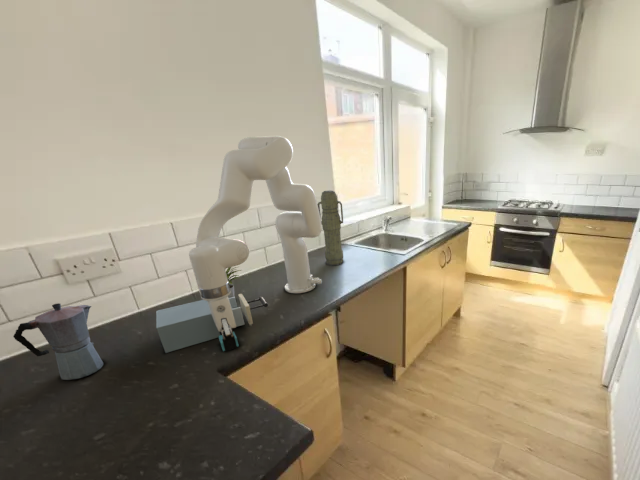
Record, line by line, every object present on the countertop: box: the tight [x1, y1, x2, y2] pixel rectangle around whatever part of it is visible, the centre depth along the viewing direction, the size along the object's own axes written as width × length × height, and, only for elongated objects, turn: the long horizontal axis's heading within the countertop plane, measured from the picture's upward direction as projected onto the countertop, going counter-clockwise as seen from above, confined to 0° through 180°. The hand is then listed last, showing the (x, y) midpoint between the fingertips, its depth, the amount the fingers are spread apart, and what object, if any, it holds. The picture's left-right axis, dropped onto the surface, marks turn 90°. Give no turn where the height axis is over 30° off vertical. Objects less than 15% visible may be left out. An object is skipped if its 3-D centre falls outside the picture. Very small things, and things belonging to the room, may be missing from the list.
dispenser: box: [155, 299, 220, 354], centre depth 100 cm, size 16×13×9 cm
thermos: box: [317, 190, 344, 266], centre depth 155 cm, size 9×12×35 cm
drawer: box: [229, 293, 269, 329], centre depth 107 cm, size 21×11×7 cm, turn 123°
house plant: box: [225, 266, 242, 298], centre depth 119 cm, size 14×14×16 cm
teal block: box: [218, 331, 240, 352], centre depth 96 cm, size 4×4×3 cm
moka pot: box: [13, 302, 104, 381], centre depth 82 cm, size 10×15×20 cm, turn 161°
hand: (229, 344), depth 96 cm, fingers closed on teal block, 4 cm apart
